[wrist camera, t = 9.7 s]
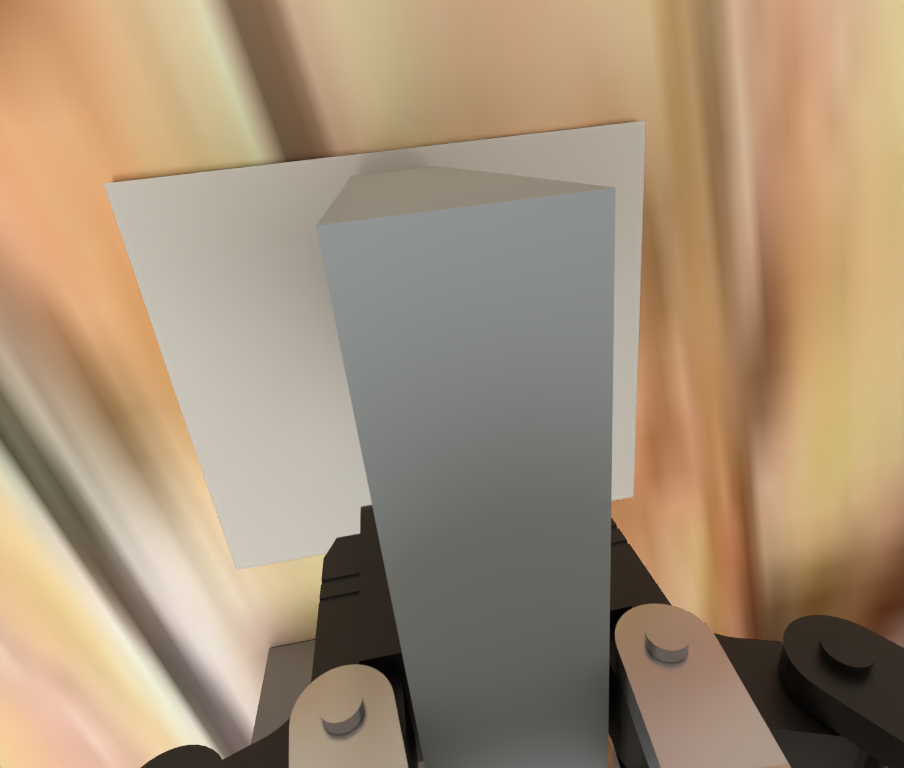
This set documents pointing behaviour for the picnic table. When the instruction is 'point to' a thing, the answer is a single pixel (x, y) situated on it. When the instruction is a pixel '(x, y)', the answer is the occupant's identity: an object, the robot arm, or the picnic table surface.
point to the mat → (321, 321)
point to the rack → (284, 686)
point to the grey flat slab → (486, 447)
